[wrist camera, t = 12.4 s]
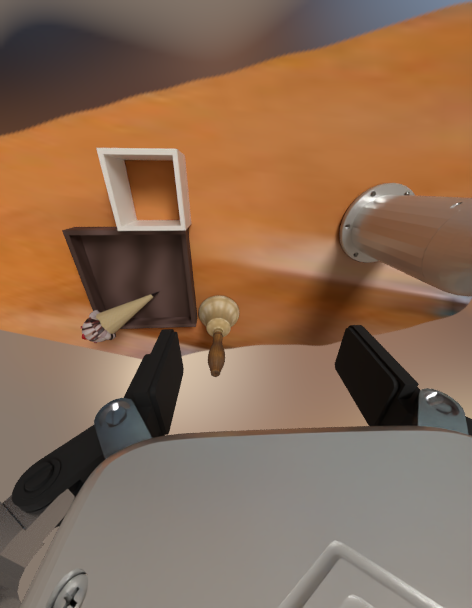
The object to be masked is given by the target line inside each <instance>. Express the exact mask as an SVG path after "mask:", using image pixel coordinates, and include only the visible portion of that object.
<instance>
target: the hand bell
mask: <svg viewBox="0 0 472 608" xmlns="http://www.w3.org/2000/svg"><path fill="white" fill-rule="evenodd" d="M199 318H200V320H201V322H202V323H203V324H204V325H205V326H206V328H207V332H208V333H209V334H210V335H211V336H213V344H212V346H211V348H210V351H209V354H208V365H209V368H210V371H211V375H212V376H214V377H217V376H219V375H220V372H221V369H222V368H223V365H224V362H225V352H224V348H223V346H222V337H224V336H226V335H227V334H228V333H229V332H230V328H231V327H232V326H233V325H234V324H235V323H236V322H237V320H238V318H239V309H238V306H237V304H236V303H235V302H234V301H233V300H232V299H230V298H228V297H225V296H213V297H210V298H208V299H206V300H205V301H204V302H203V303H202V304H201V306H200V308H199Z"/></svg>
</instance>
